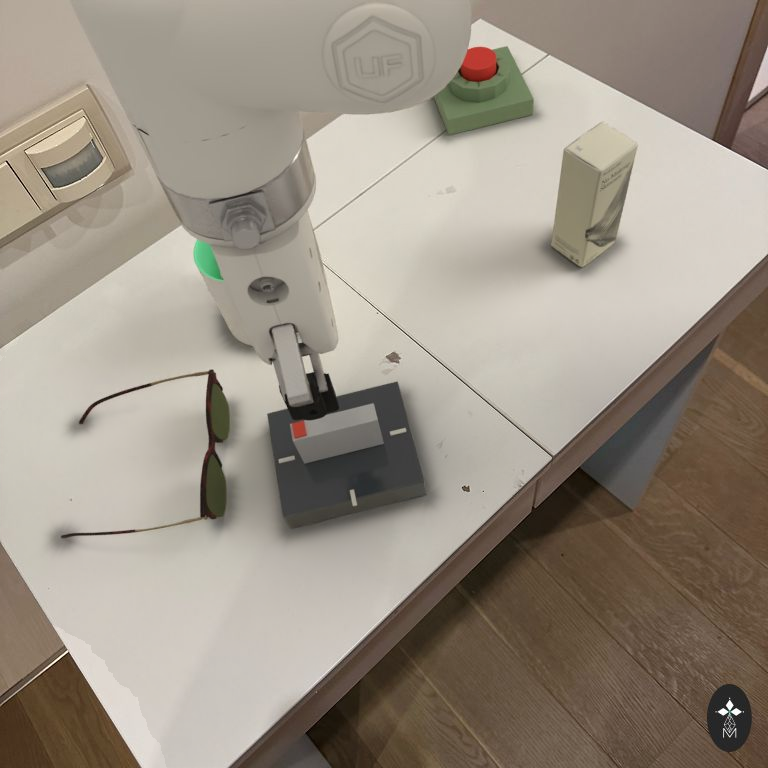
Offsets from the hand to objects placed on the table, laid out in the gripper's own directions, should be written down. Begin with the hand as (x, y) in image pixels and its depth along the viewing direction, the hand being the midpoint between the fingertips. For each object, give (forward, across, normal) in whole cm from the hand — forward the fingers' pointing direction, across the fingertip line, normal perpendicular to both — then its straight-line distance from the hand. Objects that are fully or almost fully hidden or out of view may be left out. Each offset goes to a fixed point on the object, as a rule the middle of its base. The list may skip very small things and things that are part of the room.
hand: (305, 353), depth 52 cm
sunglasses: (+17, +3, +18) cm, 25 cm away
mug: (+17, +19, +6) cm, 26 cm away
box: (+17, +17, -28) cm, 37 cm away
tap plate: (+17, -1, 0) cm, 17 cm away
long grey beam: (+14, -1, 0) cm, 14 cm away
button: (+13, +41, -24) cm, 50 cm away
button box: (+17, +41, -24) cm, 51 cm away
